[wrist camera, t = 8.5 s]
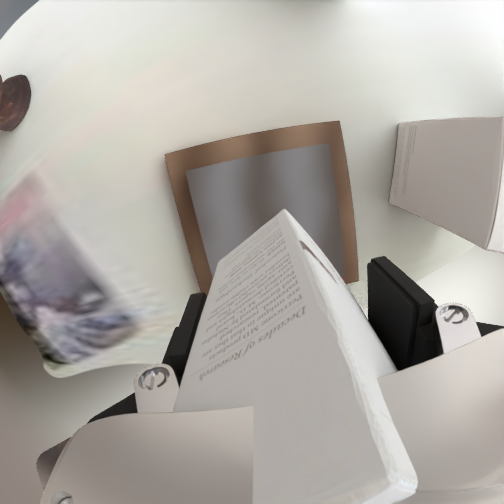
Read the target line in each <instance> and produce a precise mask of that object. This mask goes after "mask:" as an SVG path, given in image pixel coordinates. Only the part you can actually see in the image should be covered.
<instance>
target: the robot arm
mask: <svg viewBox="0 0 504 504" xmlns="http://www.w3.org/2000/svg"><path fill="white" fill-rule="evenodd" d="M367 275H368V321H369V323H370V324H371V326H372V328H373V329H374V331H375V333H376V334H377V336H378V338H379V339H380V341H381V342H382V344H383V346H384V347H385V349H386V351H387V353H388V354H389V356H390V358H391V359H392V361H393V363H394V365H395V366H396V368H397V370H398V371H397V372H394V373H391V374H388V375H385V376H382V377H379V378H377V381H378V384H379V387H380V389H381V392H382V396H383V398H384V401H385V403H386V406H387V408H388V411H389V413H390V416H391V418H392V421H393V423H394V426H395V428H396V430H397V432H398V434H399V436H400V439H401V441H402V443H403V445H404V447H405V450H406V452H407V454H408V456H409V459H410V461H411V463H412V465H413V468H414V470H415V473H416V475H417V479H418V485H417V488H416V489H415V491H416V493H414V494H413V495H411V496H409V497H407V498H405V499H403V500H401V501H399V502H393V503H391V504H504V326H498V325H492V324H486V323H480V322H476V321H475V319H474V316H473V314H472V312H471V310H470V309H469V308H467V307H466V306H464V305H462V304H458V303H446V304H443V305H441V306H440V307H438V306H437V305H436V304H435V303H434V301H435V300H434V299H433V298H431V297H430V296H429V295H428V294H427V293H426V292H425V291H424V290H423V289H422V288H421V287H419V286H418V285H417V284H416V283H415V282H414V281H413V280H412V279H411V278H409V277H408V276H407V275H406V274H405V273H404V272H403V271H401V270H400V269H399V268H398V267H397V266H396V265H394V264H393V263H392V262H391V261H390V260H389V259H387V258H386V257H385V256H382V257H378V258H373V259H371V263H368V265H367ZM207 296H208V295H206V294H205V293H204V292H202V293H197V294H191V295H190V298H189V300H188V303H187V306H186V308H185V311H184V314H183V316H182V319H181V322H180V325H179V327H176V328H175V330H174V332H173V335H172V337H171V340H170V343H169V345H168V348H167V351H166V353H165V356H164V359H163V362H162V364H155V365H151V366H148V367H146V368H144V369H143V370H142V371H140V372H139V373H138V374H137V375H136V377H135V379H134V390H135V393H133V394H131V395H130V396H128V397H127V398H125V399H123V400H122V401H120V402H118V403H116V404H115V405H113V406H111V407H110V408H108V409H106V410H105V411H103V412H101V413H100V414H98V415H96V416H94V417H93V418H92V419H90V421H89V422H88V423H87V424H86V425H84V426H83V427H81V428H80V429H78V430H77V431H76V432H75V433H74V434H73V436H72V437H70V438H68V439H66V440H65V441H63V442H61V443H59V444H57V445H56V446H54V447H52V448H50V449H48V450H46V451H45V452H43V453H42V454H41V455H40V456H39V457H38V459H37V463H36V466H37V471H38V474H39V477H40V481H41V484H42V486H43V489H44V493H43V496H42V498H41V501H40V504H252V501H253V406H245V407H234V408H224V409H213V410H199V411H178V412H173V409H174V405H175V402H176V398H177V395H178V391H179V388H180V384H181V381H182V378H183V374H184V371H185V367H186V364H187V361H188V357H189V354H190V351H191V348H192V344H193V341H194V338H195V335H196V331H197V328H198V324H199V321H200V318H201V314H202V311H203V308H204V305H205V302H206V299H207Z"/></svg>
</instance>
